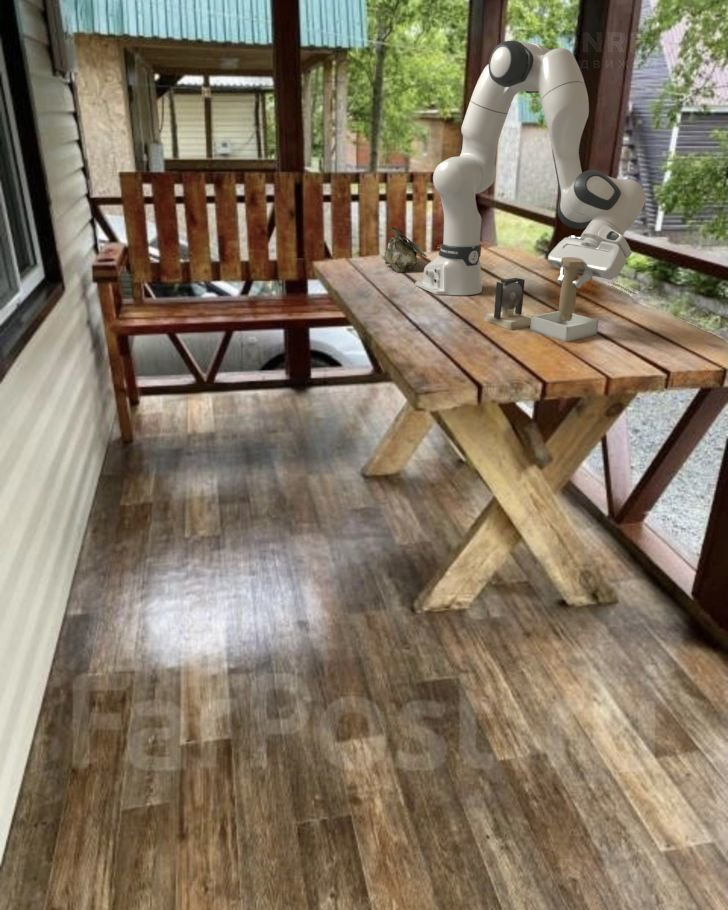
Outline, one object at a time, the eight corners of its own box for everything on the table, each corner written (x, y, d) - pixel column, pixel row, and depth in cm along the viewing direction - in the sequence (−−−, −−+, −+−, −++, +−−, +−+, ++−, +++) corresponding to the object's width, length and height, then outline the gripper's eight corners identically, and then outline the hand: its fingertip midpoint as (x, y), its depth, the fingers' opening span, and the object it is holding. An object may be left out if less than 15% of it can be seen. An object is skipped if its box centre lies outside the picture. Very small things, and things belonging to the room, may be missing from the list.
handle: (560, 323, 183) (567, 262, 176) (551, 316, 189) (558, 257, 182) (579, 323, 183) (586, 261, 177) (569, 316, 189) (577, 256, 183)
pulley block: (482, 321, 196) (485, 277, 191) (505, 317, 200) (508, 274, 196) (509, 330, 189) (513, 285, 184) (531, 325, 193) (536, 281, 188)
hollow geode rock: (398, 271, 279) (370, 241, 274) (423, 247, 275) (396, 216, 271) (401, 285, 253) (370, 253, 249) (428, 259, 249) (398, 225, 245)
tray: (529, 330, 189) (531, 316, 187) (560, 323, 195) (561, 310, 193) (566, 341, 180) (567, 327, 178) (596, 334, 185) (598, 320, 184)
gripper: (562, 226, 188) (531, 269, 187) (628, 237, 173) (594, 283, 172) (572, 242, 192) (541, 284, 192) (637, 254, 177) (604, 300, 176)
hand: (567, 284), depth 182 cm, fingers closed on handle, 3 cm apart
